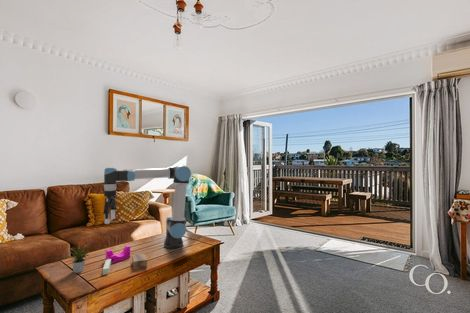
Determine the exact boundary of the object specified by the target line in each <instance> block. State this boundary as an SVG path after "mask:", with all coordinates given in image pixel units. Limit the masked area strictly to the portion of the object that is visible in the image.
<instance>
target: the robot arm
mask: <svg viewBox="0 0 470 313" xmlns="http://www.w3.org/2000/svg"><path fill="white" fill-rule="evenodd" d="M191 177H192V172H191V169H190V168H189V167H188V166H187V165H184V164H180V165H179V164H178V165H174V166H167V167H166V168H165V167H162V168H161V167H160V168H141V169H140V168H138V169H123V170H117V168H116V167H106V168H104V176H103V178H104V180H103V184H104V185H103V188H104V189H103V190H104V192H103V196H104V197H106V198H104V200H105V201H104V208H103V212H102V214H103V215H104V224H105V225H108V224H110V220H115V219H116V210H117V204H116V197H117V182H133V181H135V180H145V179H146V180H147V179H148V180H149V179H164V178H165V179H169V180H171V179H173V181H172V182H173V184H174V194H173V206H172V216H167V217H166V220H165V224H166V225H165V226H166V228H165V230H166V232H165V238H164V242H163V247H164V248H165V249H178V248H182V247H183V245H184V241H183V238H182V237H184V236H185V235H186V233H187V227H186V221H187V220H186V217H185V208H186V206H185V205H186V196H187V195H186V194H187V187H188V186H187V185H189V184H190V178H191ZM110 209H111V210H110Z"/></svg>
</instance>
